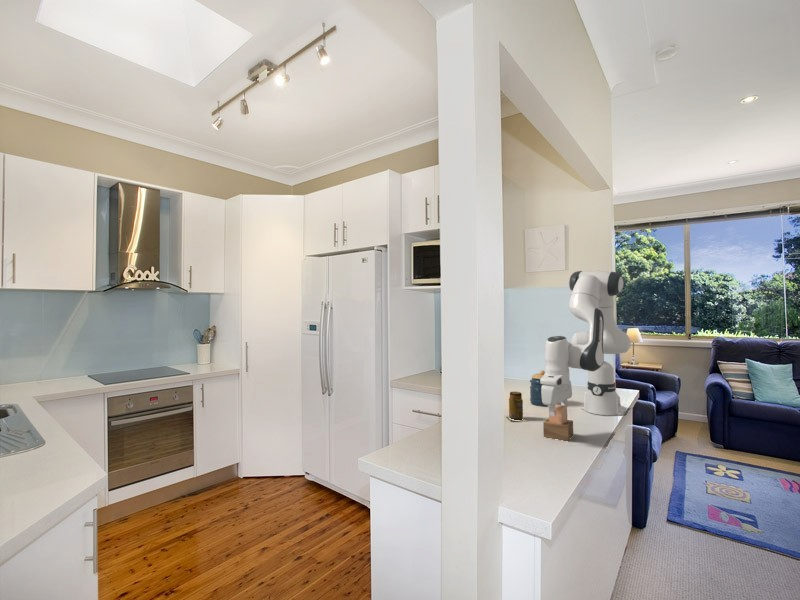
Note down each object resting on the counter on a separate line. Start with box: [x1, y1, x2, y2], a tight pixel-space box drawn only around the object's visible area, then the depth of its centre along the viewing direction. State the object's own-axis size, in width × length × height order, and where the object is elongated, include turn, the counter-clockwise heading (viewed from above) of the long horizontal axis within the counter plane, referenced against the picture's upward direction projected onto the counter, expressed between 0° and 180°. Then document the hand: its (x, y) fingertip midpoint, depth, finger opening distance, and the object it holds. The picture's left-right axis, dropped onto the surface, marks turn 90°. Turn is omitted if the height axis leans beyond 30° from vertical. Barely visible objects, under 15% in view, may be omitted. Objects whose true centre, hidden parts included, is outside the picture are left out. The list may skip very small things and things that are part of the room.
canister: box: [529, 370, 548, 407], centre depth 207 cm, size 13×13×18 cm
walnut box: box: [542, 417, 574, 442], centre depth 153 cm, size 9×9×6 cm
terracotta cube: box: [548, 403, 568, 424], centre depth 153 cm, size 5×5×6 cm
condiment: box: [508, 391, 527, 423], centre depth 178 cm, size 7×8×12 cm
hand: (558, 413), depth 154 cm, fingers open, 8 cm apart
